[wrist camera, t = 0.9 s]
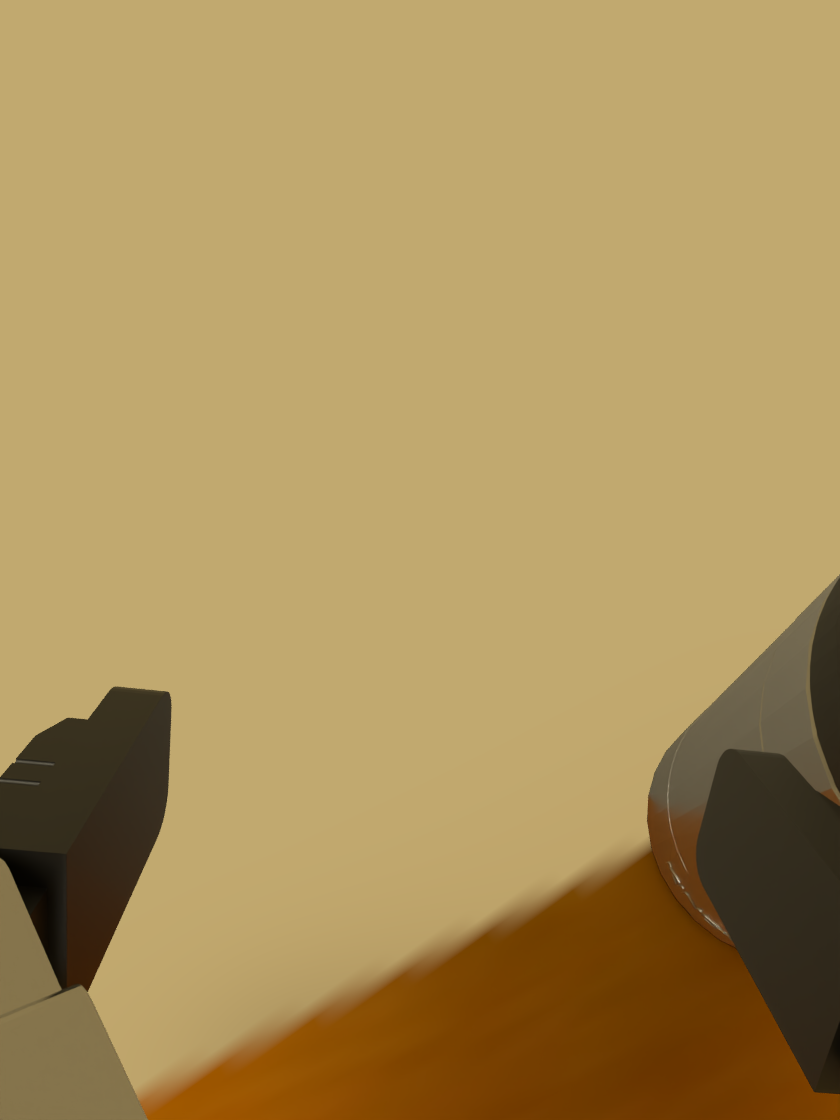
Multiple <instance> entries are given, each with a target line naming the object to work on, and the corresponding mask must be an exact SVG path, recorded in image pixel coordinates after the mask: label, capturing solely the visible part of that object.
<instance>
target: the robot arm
mask: <svg viewBox="0 0 840 1120" xmlns="http://www.w3.org/2000/svg"><path fill="white" fill-rule="evenodd" d="M170 728H171V697H170V694H169V692H165V691H155V690H145V689H135V688H125V687H113V688H112V689H111V690H110V691H109V693H107V695H106V696H105V698H104V699H103V700H102V701H101V703H100V704H99V705H98V707H97V708H96V709H95V711H94V712H93V713H92V715H91V716H90V718H89V719H88V720H85V719H76V718H66V719H65V720H63V721H61V722H59V723H57V724H56V725H54V726H52V727H50V728H49V729H47V730H45V731H43V732H41V733H39V734H38V735H36V736H35V737H34V738H33V739H32V740H31V742H30V743H29V744H28V745H27V746H26V748H25V749H24V750H23V751H22V753H20V755H19V756H18V757H17V758H16V762H15V763H12V764H11V765H10V766H9V768H8V769H7V770H6V771H5V772H4V773H3V775H2V776H1V777H0V1120H148V1119H147V1117H146V1115H145V1113H144V1111H143V1109H142V1106H141V1104H140V1102H139V1100H138V1098H137V1096H136V1094H135V1091H134V1089H133V1087H132V1085H131V1083H130V1081H129V1079H128V1076H127V1075H126V1073H125V1070H124V1068H123V1066H122V1064H121V1062H120V1059H119V1057H118V1055H117V1053H116V1051H115V1049H114V1047H113V1044H112V1042H111V1040H110V1038H109V1036H108V1034H107V1032H106V1029H105V1027H104V1025H103V1023H102V1021H101V1019H100V1017H99V1015H98V1012H97V1010H96V1008H95V1006H94V1004H93V1002H92V1000H91V998H90V996H89V994H88V993H87V992H88V990H89V988H90V986H91V983H92V981H93V979H94V977H95V974H96V972H97V969H98V968H99V966H100V963H101V961H102V959H103V957H104V954H105V952H106V950H107V948H108V945H109V943H110V941H111V939H112V937H113V935H114V932H115V930H116V928H117V926H118V924H119V921H120V919H121V917H122V915H123V912H124V910H125V908H126V906H127V904H128V901H129V899H130V897H131V895H132V892H133V890H134V888H135V886H136V884H137V881H138V879H139V877H140V875H141V873H142V870H143V868H144V866H145V864H146V861H147V859H148V857H149V855H150V852H151V850H152V848H153V846H154V844H155V842H156V839H157V837H158V835H159V832H160V829H161V825H162V822H163V818H164V814H165V808H166V803H167V796H168V780H169V755H170V730H171V729H170ZM647 822H648V829H649V835H650V842H651V848H652V850H653V853H654V856H655V859H656V861H657V864H658V867H659V870H660V872H661V874H662V876H663V878H664V879H665V881H666V883H667V885H668V886H669V888H670V890H671V891H672V893H673V895H674V896H675V898H676V899H677V900H678V902H679V903H680V904H681V905H682V906H683V907H684V908H685V909H686V911H687V912H688V913H689V914H690V915H691V916H692V917H693V919H694V920H695V921H696V922H698V923H699V924H700V925H701V926H703V927H704V928H705V929H707V930H708V931H709V932H710V933H712V934H713V935H714V936H715V937H717V938H718V939H719V940H721V941H723V942H725V943H727V944H729V945H731V946H733V947H735V948H736V949H737V950H738V952H739V954H740V956H741V958H742V960H743V961H744V963H745V965H746V967H747V969H748V971H749V973H750V974H751V976H752V978H753V980H754V982H755V984H756V985H757V987H758V989H759V991H760V993H761V995H762V997H763V998H764V1000H765V1002H766V1004H767V1006H768V1008H769V1009H770V1011H771V1013H772V1015H773V1017H774V1019H775V1021H776V1022H777V1024H778V1026H779V1028H780V1030H781V1032H782V1033H783V1035H784V1037H785V1039H786V1041H787V1043H788V1045H789V1046H790V1048H791V1050H792V1052H793V1054H794V1056H795V1057H796V1059H797V1061H798V1063H799V1065H800V1067H801V1069H802V1070H803V1072H804V1074H805V1076H806V1078H807V1080H808V1081H809V1083H810V1085H811V1087H812V1089H813V1091H814V1092H819V1093H833V1094H840V575H839V576H838V577H837V578H836V579H835V580H834V581H833V582H832V583H831V584H830V585H829V586H828V587H827V588H826V589H825V590H824V591H823V592H822V593H821V594H820V595H819V596H818V597H817V598H816V599H815V600H814V601H813V602H812V603H811V604H810V605H809V606H808V607H807V608H806V609H805V610H804V611H803V612H802V613H801V614H800V615H799V616H798V617H797V618H796V620H795V621H794V622H793V623H792V624H791V625H790V626H789V627H788V628H787V629H786V630H785V631H784V632H783V633H782V634H781V635H780V636H779V637H778V638H777V639H776V640H775V641H774V642H773V643H772V644H771V645H770V646H769V647H768V648H767V649H766V650H765V651H764V652H763V653H762V654H761V655H760V656H759V657H758V658H757V659H756V660H755V661H754V662H753V663H752V664H751V665H750V667H748V668H747V669H746V670H745V671H744V672H743V673H742V674H741V675H740V676H739V677H738V679H737V680H735V681H734V683H732V684H731V685H730V686H729V687H728V688H727V690H726V691H724V692H723V693H722V694H721V695H720V696H719V697H718V699H717V700H716V701H715V702H714V703H713V704H712V705H711V706H710V707H709V708H707V709H706V710H705V711H704V712H703V713H702V714H701V715H700V716H699V717H698V718H697V719H696V720H695V721H694V722H693V723H692V724H691V725H690V726H689V727H688V728H687V729H686V730H685V731H684V732H683V733H682V734H681V735H680V736H679V738H678V739H677V740H676V741H675V742H674V743H673V744H672V745H671V746H670V748H669V749H668V750H667V751H666V752H665V754H664V756H663V758H662V760H661V762H660V763H659V765H658V767H657V769H656V771H655V773H654V777H653V781H652V785H651V788H650V792H649V795H648V815H647Z"/></svg>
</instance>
